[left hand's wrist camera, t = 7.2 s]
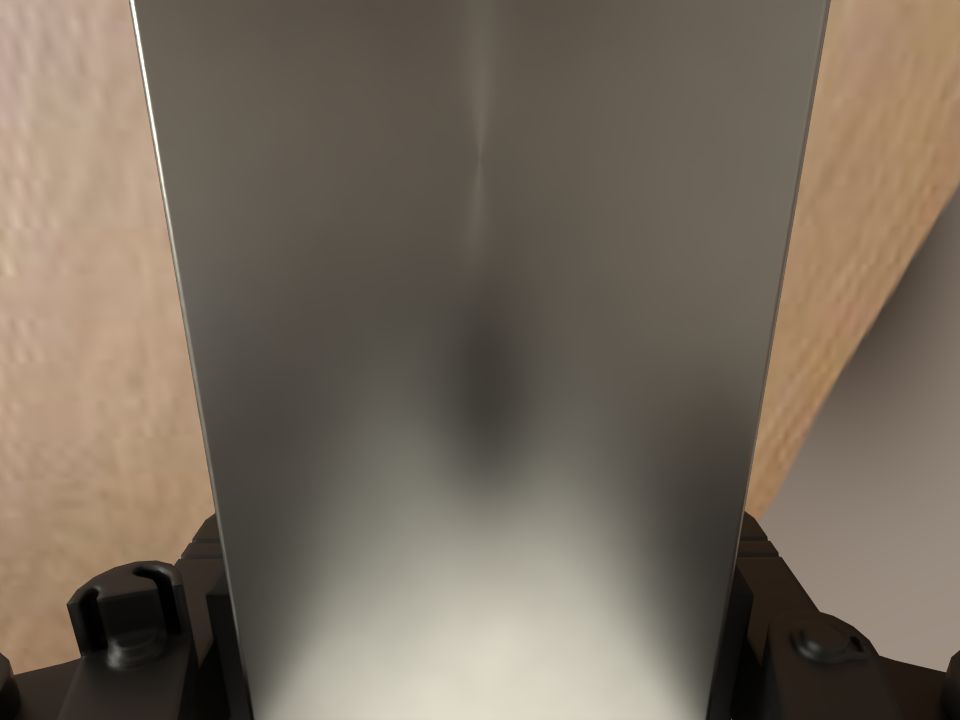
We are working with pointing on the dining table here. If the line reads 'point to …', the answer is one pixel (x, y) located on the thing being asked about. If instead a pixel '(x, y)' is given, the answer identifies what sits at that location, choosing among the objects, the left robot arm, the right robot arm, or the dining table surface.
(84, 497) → the dining table surface
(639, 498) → the bar
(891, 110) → the dining table surface
